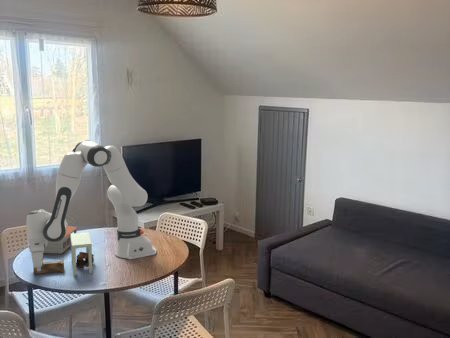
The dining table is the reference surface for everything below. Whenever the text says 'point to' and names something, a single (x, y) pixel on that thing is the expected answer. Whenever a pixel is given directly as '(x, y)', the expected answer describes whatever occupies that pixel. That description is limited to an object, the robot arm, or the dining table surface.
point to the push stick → (50, 267)
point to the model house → (60, 243)
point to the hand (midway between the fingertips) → (39, 269)
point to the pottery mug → (81, 261)
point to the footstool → (79, 242)
